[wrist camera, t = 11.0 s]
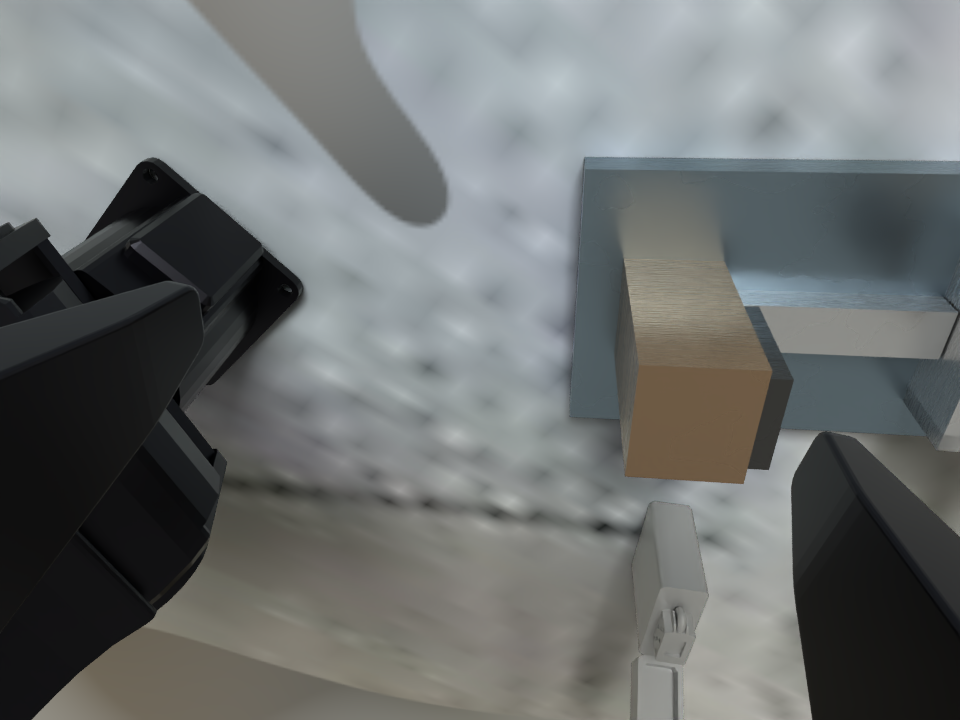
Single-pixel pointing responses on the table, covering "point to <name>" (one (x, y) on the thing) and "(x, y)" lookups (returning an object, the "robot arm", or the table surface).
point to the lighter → (665, 609)
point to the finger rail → (765, 306)
